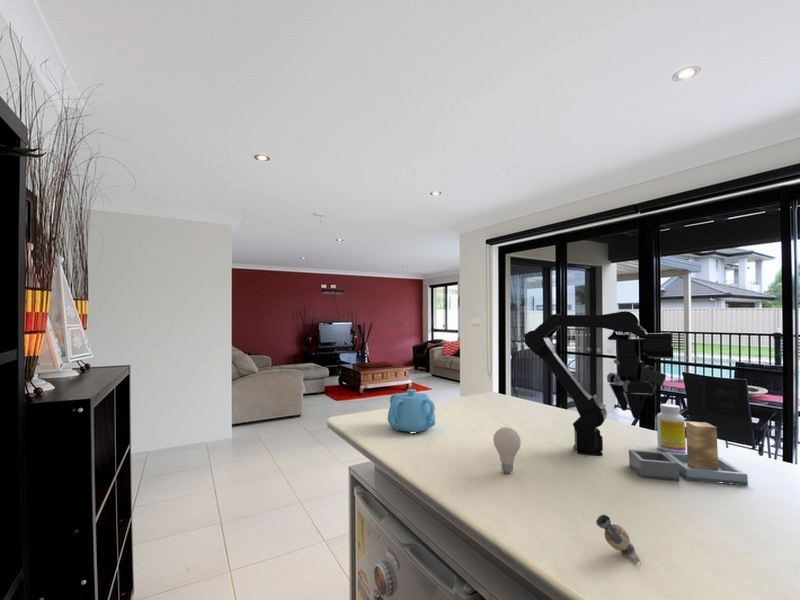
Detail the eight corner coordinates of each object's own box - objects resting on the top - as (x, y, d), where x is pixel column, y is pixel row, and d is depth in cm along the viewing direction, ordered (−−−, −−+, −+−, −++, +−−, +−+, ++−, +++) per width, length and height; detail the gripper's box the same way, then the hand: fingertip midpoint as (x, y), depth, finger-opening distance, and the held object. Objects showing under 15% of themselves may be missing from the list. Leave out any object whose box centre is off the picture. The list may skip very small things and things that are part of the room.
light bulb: (521, 469, 95) (520, 425, 95) (521, 479, 89) (520, 432, 89) (494, 466, 97) (494, 422, 98) (492, 476, 91) (491, 429, 91)
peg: (696, 472, 91) (694, 426, 92) (687, 465, 96) (685, 421, 96) (718, 474, 90) (716, 427, 91) (708, 466, 95) (706, 422, 95)
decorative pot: (385, 436, 123) (385, 393, 123) (389, 422, 139) (389, 385, 139) (435, 437, 122) (435, 394, 123) (433, 423, 138) (433, 385, 139)
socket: (641, 477, 90) (640, 460, 90) (629, 465, 98) (628, 449, 98) (679, 481, 88) (678, 463, 88) (664, 468, 96) (663, 452, 96)
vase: (603, 563, 58) (600, 522, 59) (593, 546, 63) (590, 508, 64) (642, 568, 57) (638, 525, 58) (628, 549, 62) (625, 511, 63)
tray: (687, 480, 89) (686, 469, 89) (664, 461, 100) (664, 452, 100) (747, 485, 86) (747, 474, 86) (717, 466, 97) (717, 456, 97)
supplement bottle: (690, 455, 106) (689, 408, 106) (664, 453, 107) (662, 407, 108) (678, 447, 112) (676, 403, 113) (653, 445, 113) (652, 402, 114)
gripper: (677, 361, 93) (680, 425, 92) (647, 354, 111) (649, 408, 110) (627, 359, 95) (629, 422, 95) (605, 353, 114) (607, 406, 113)
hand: (629, 414), depth 103 cm, fingers open, 9 cm apart
